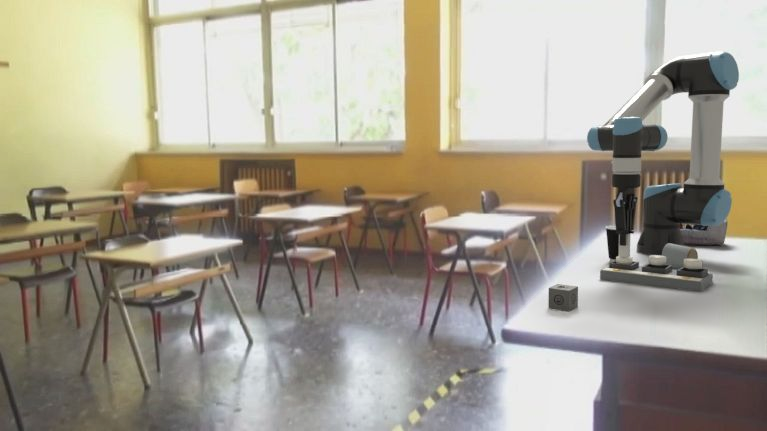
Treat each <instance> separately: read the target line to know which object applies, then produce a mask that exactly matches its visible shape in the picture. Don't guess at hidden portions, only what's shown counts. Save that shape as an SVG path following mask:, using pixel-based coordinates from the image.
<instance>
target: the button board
mask: <svg viewBox="0 0 767 431" xmlns="http://www.w3.org/2000/svg"><path fill="white" fill-rule="evenodd" d="M713 276H714V274H713V273H710V272H709V268H703V267H702V268H701V269H688V268H684V267H682V268H680V269H678V270H673V269H672V265H651V264H649V262H647V263H646V264H644V265H640V262H639V261H633V262H632V264H631V265H626V264H616V260H615V261H613V262H609V264H608V266H607V267H605V268H604V267H603V269H600V270H599V280H605V281H612V282H621V283H628V284H629V283H630V284H636V285H646V286H651V287H652V286H653V287H661V288H669V289H677V290H678V289H679V290H685V291H686V290H687V291H693V292H694V291H695V292H702V291H704V290H705V289H707V288H708V287H709V286H710V285H712V284H713V281H714V280H713V279H714V278H713Z"/></svg>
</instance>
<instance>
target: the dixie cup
mask: <svg viewBox="0 0 767 431" xmlns="http://www.w3.org/2000/svg"><path fill="white" fill-rule="evenodd" d="M605 230H606V243H607V252H608V259H609V263H611V262H613V261H615V260H616V257H617V256H618V253H619V234H616V225H607V226H605Z"/></svg>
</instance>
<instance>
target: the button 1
mask: <svg viewBox="0 0 767 431" xmlns="http://www.w3.org/2000/svg"><path fill="white" fill-rule="evenodd" d="M633 260H634V259H633V256H630V257H619V256H617V257H616V264H626V265H631V264H632V262H633Z"/></svg>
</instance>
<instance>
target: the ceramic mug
mask: <svg viewBox="0 0 767 431" xmlns="http://www.w3.org/2000/svg"><path fill="white" fill-rule="evenodd" d="M661 256H665V257H666V265H672V269H673V270H678V269H680V268H682V267H683V265H684V259H699V253H698V251H697V250H696V248H694V247H690V246H688V245H685V246H681V245H676V244H671V243H668V244H666V245H665V246H664V248H663V251H662V255H661Z"/></svg>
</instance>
